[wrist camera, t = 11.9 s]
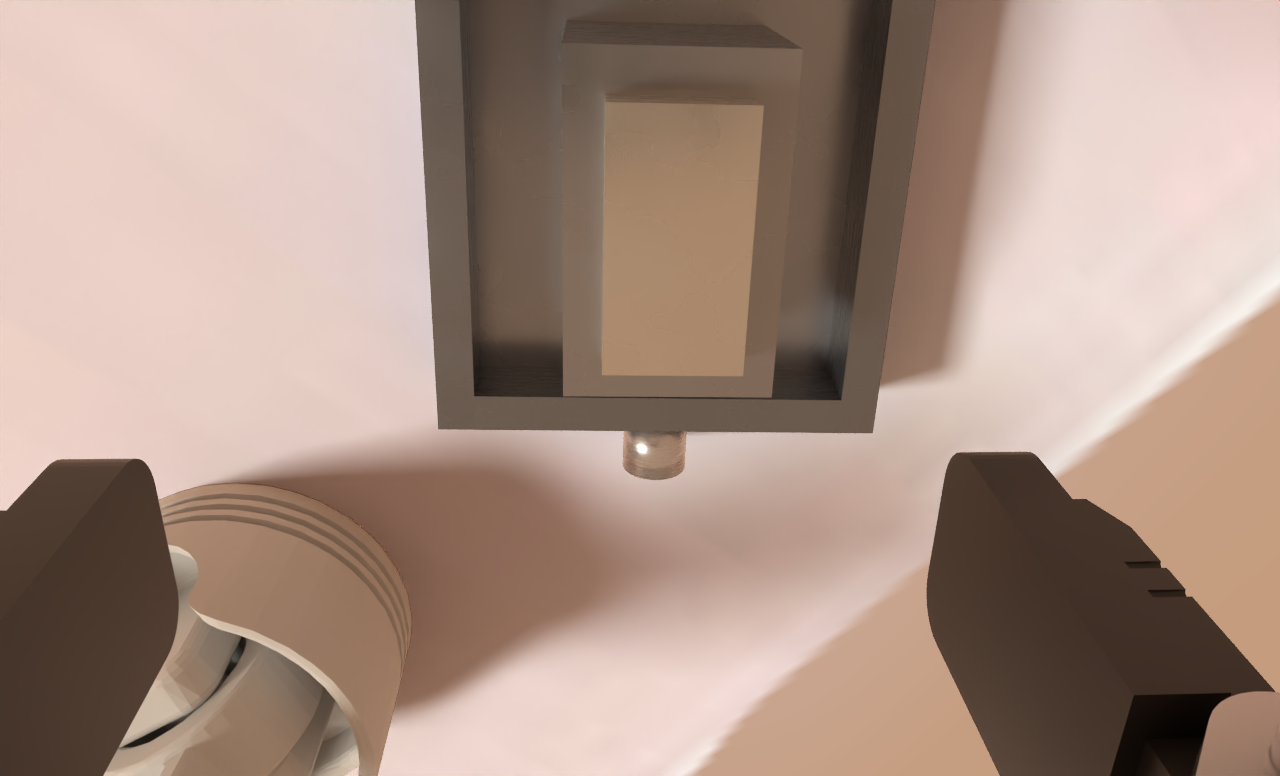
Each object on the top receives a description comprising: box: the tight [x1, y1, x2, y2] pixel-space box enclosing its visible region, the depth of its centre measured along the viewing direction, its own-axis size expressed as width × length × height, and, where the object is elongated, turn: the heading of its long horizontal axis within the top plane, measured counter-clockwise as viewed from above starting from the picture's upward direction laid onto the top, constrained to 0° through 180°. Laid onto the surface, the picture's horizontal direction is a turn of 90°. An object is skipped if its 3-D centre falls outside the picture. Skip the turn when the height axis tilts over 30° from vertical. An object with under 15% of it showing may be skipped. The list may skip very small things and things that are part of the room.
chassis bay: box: [415, 0, 935, 480], centre depth 27 cm, size 16×12×3 cm
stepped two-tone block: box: [562, 20, 803, 397], centre depth 25 cm, size 8×5×6 cm, turn 178°
